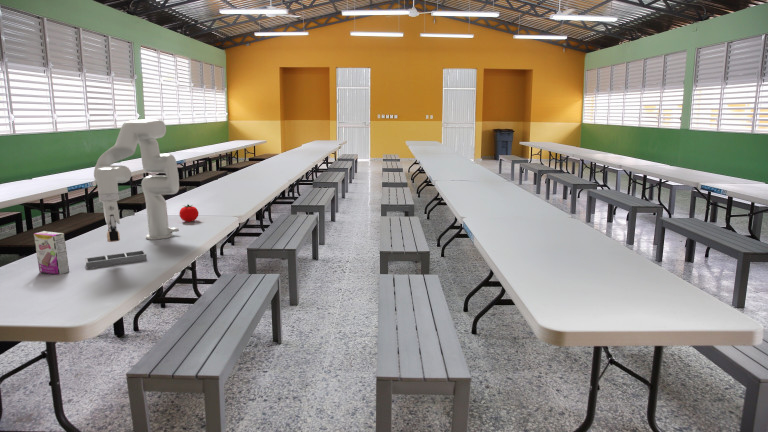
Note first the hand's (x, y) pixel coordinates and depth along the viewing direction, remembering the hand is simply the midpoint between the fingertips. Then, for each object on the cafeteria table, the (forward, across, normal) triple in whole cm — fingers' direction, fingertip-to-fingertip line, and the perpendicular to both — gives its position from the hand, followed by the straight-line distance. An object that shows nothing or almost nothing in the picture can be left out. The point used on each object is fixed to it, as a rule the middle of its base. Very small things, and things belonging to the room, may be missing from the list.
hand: (113, 238), depth 225 cm
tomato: (+10, +68, -44) cm, 82 cm away
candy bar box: (+11, -2, +23) cm, 25 cm away
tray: (+10, 0, 0) cm, 10 cm away
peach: (+1, 0, 0) cm, 1 cm away
